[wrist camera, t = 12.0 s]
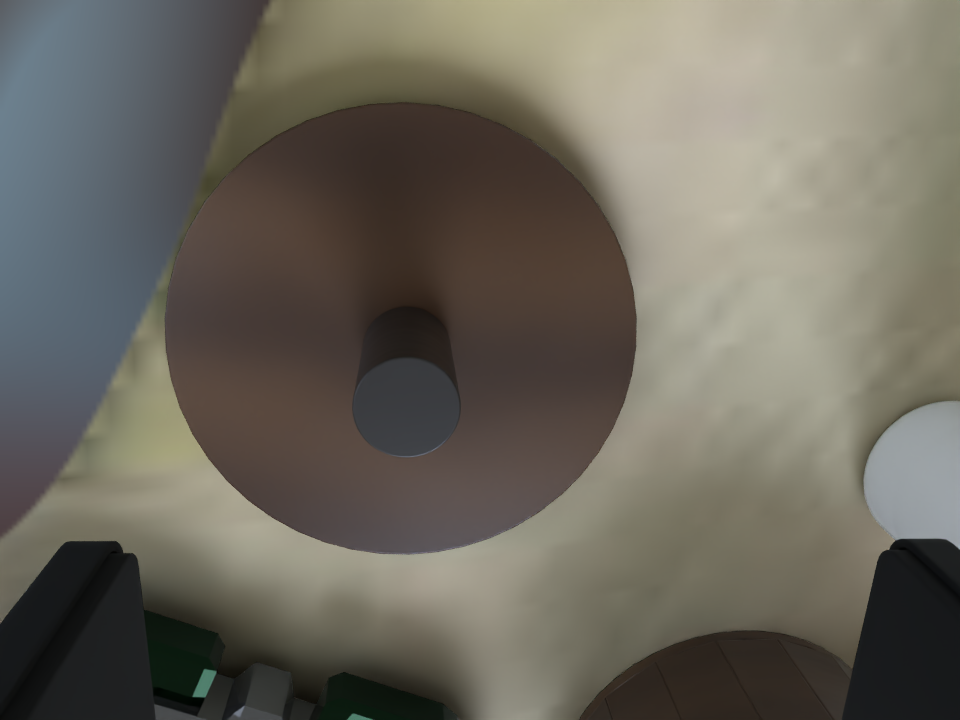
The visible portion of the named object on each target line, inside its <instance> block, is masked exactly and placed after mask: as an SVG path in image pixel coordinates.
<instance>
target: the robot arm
mask: <svg viewBox="0 0 960 720" xmlns="http://www.w3.org/2000/svg"><path fill="white" fill-rule="evenodd" d="M0 720H156V716H155V707H154V698H153V689H152V680H151V672H150V663H149V654H148V645H147V636H146V627H145V618H144V610H143V601H142V592H141V583H140V574H139V565H138V560H137V558H136V555H134V554H133V553H123V550H122V547H121V545H120V544H119V543H118V542H117V541H70V542H65V543H64V544H63V545H62V546H61V547H60V548H59V550H58V551H57V552H56V553H55V555H54V556H53V557H52V559H51V560H50V561H49V562H48V564H47V565H46V566H45V568H44V569H43V570H42V571H41V573H40V574H39V575H38V576H37V578H36V579H35V580H34V582H33V583H32V584H31V585H30V587H29V588H28V589H27V591H26V592H25V593H24V594H23V596H22V597H21V598H20V599H19V601H18V602H17V603H16V605H15V606H14V607H13V608H12V610H11V611H10V612H9V613H8V615H7V616H6V617H5V619H4V620H3V621H2V622H1V624H0ZM842 720H960V549H959V548H958V547H956V546H955V545H954V544H953V543H951V542H950V541H948V540H946V539H898V540H896V541H895V542H894V543H893V544H892V545H891V547H890V549H889V550H886V551H883V552H882V553H881V554H880V556H879V558H878V561H877V565H876V570H875V574H874V579H873V583H872V587H871V592H870V596H869V601H868V605H867V609H866V614H865V618H864V623H863V627H862V631H861V636H860V640H859V644H858V649H857V653H856V658H855V662H854V666H853V671H852V675H851V680H850V684H849V688H848V693H847V697H846V702H845V706H844V710H843V715H842Z"/></svg>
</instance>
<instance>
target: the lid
mask: <svg viewBox="0 0 960 720" xmlns="http://www.w3.org/2000/svg"><path fill="white" fill-rule="evenodd" d="M636 323H637V317H636V309H635V301H634V292H633V287H632V283H631V279H630V275H629V271H628V267H627V263H626V260H625V257H624V255H623V253H622V250H621V248H620V245H619V243H618V240H617V238H616V236H615V233H614V231H613V229H612V228H611V226H610V224H609V223H608V221H607V219H606V217H605V216H604V214H603V212H602V211H601V209H600V207H599V205H598V204H597V203H596V202H595V200H594V199H593V198H592V197H591V195H590V194H589V193H588V191H587V190H586V189H585V188H584V186H583V185H582V184H581V182H580V181H579V180H578V179H577V178H576V177H575V176H574V175H573V174H572V173H571V172H570V171H569V170H567V169H566V168H565V167H564V166H563V165H562V164H561V163H560V162H559V161H558V160H557V159H556V158H555V157H553V156H552V155H551V154H549V153H548V152H546V151H545V150H544V149H542V148H541V147H540V146H538V145H537V144H536V143H534V142H533V141H532V140H530V139H528V138H526V137H524V136H523V135H521V134H519V133H517V132H515V131H513V130H512V129H510V128H508V127H506V126H504V125H502V124H500V123H497V122H494V121H492V120H489V119H487V118H484V117H481V116H479V115H476V114H473V113H470V112H466V111H462V110H457V109H453V108H449V107H444V106H440V105H431V104H420V103H409V102H398V103H377V104H368V105H362V106H357V107H351V108H346V109H341V110H337V111H334V112H331V113H328V114H325V115H322V116H319V117H316V118H313V119H310V120H307V121H305V122H303V123H301V124H299V125H297V126H295V127H293V128H291V129H289V130H287V131H285V132H283V133H281V134H279V135H277V136H275V137H274V138H272V139H271V140H269V141H268V142H266V143H265V144H263V145H262V146H261V147H259V148H258V149H256V150H255V151H253V152H252V153H250V154H249V155H248V156H247V157H246V158H245V159H244V160H242V161H241V162H240V163H239V164H238V165H237V166H236V167H235V168H234V169H233V170H232V171H231V172H229V173H228V174H227V175H226V176H225V177H224V178H223V180H222V181H221V182H220V183H219V185H218V186H217V187H216V188H215V190H214V191H213V192H212V193H211V194H210V196H209V197H208V198H207V199H206V201H205V202H204V204H203V205H202V207H201V209H200V210H199V212H198V214H197V215H196V217H195V219H194V220H193V222H192V224H191V225H190V227H189V229H188V231H187V233H186V236H185V238H184V240H183V243H182V245H181V247H180V250H179V252H178V255H177V257H176V260H175V264H174V268H173V272H172V276H171V280H170V283H169V287H168V295H167V304H166V313H165V340H166V353H167V359H168V365H169V371H170V377H171V381H172V384H173V387H174V390H175V393H176V397H177V400H178V403H179V406H180V409H181V411H182V413H183V415H184V417H185V419H186V421H187V423H188V425H189V428H190V430H191V432H192V434H193V436H194V437H195V439H196V440H197V442H198V443H199V445H200V446H201V448H202V449H203V451H204V453H205V454H206V456H207V457H208V459H209V460H210V461H211V462H212V464H213V465H214V466H215V467H216V468H217V469H218V471H219V472H220V473H221V474H222V475H223V477H224V478H225V479H226V480H227V481H228V482H229V483H230V484H231V485H232V486H233V487H234V488H235V489H236V490H238V491H239V492H240V493H241V494H242V495H243V496H244V497H245V498H246V499H247V500H248V501H250V502H251V503H252V504H254V505H255V506H257V507H258V508H259V509H261V510H262V511H264V512H265V513H267V514H268V515H269V516H271V517H272V518H274V519H276V520H278V521H279V522H281V523H283V524H285V525H287V526H289V527H290V528H292V529H294V530H296V531H298V532H300V533H303V534H305V535H308V536H310V537H313V538H315V539H318V540H320V541H323V542H326V543H330V544H333V545H337V546H341V547H345V548H348V549H352V550H359V551H366V552H372V553H379V554H420V553H432V552H439V551H444V550H449V549H454V548H459V547H464V546H467V545H470V544H473V543H476V542H479V541H483V540H486V539H489V538H491V537H494V536H496V535H498V534H500V533H502V532H504V531H507V530H509V529H511V528H513V527H515V526H517V525H519V524H520V523H522V522H524V521H525V520H527V519H529V518H530V517H532V516H534V515H535V514H537V513H538V512H540V511H541V510H543V509H544V508H545V507H546V506H548V505H549V504H550V503H551V502H553V501H554V500H555V499H557V498H558V497H559V496H560V495H562V494H563V493H564V492H565V491H566V490H567V489H568V488H569V487H570V486H571V485H572V484H573V483H574V482H575V481H576V480H577V479H578V478H579V477H580V476H581V474H582V473H583V472H584V471H585V469H586V468H587V467H588V465H589V464H590V463H591V462H592V460H593V459H594V458H595V456H596V455H597V454H598V453H599V451H600V449H601V448H602V446H603V444H604V442H605V441H606V439H607V437H608V436H609V434H610V432H611V431H612V429H613V427H614V425H615V422H616V420H617V418H618V415H619V413H620V411H621V408H622V406H623V404H624V401H625V398H626V394H627V391H628V387H629V384H630V380H631V377H632V371H633V364H634V358H635V351H636Z"/></svg>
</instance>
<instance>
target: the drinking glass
mask: <svg viewBox="0 0 960 720" xmlns="http://www.w3.org/2000/svg"><path fill="white" fill-rule="evenodd" d="M863 487H864V495H865V499H866V503H867V506H868V508H869V510H870V512H871V514H872V516H873V517H874V519H875V520H876V521H877V523H878V524H879V525H880V526H881V527H882V528H883V529H884V530H885V531H886V532H887V533H888V534H889V535H890V536H891V537H892V538H893V539H895V540H898V539H946V540H948V541H950V542H951V543H953V544H954V545H955V546H956V547H958V548H959V549H960V401H941V402H935V403H931V404H927V405H924V406H921V407H919V408H917V409H914V410H912V411H910V412H909V413H907V414H905V415H904V416H902V417H900V418H899V419H898V420H897V421H895V422H894V423H893V424H892V425H891V426H890V427H888V429H887V430H886V431H885V432H884V433H883V434H882V435H881V437H880V438H879V439H878V441H877V442H876V444H875V445H874V447H873V449H872V451H871V453H870V455H869V457H868V460H867V463H866V467H865V471H864V481H863Z"/></svg>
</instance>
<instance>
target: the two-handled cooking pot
mask: <svg viewBox="0 0 960 720" xmlns="http://www.w3.org/2000/svg"><path fill="white" fill-rule="evenodd" d="M852 671H853V670H852V669H851V668H850V667H849V666H848V665H846V664H845V663H844V662H843V661H842V660H841V659H839V658H838V657H836V656H835V655H833V654H831V653H830V652H828V651H827V650H825V649H823V648H821V647H819V646H817V645H814V644H812V643H810V642H807V641H805V640H802V639H799V638H795V637H791V636H788V635H784V634H777V633H770V632H763V631H735V632H724V633H716V634H711V635H707V636H702V637H697V638H693V639H690V640H687V641H684V642H681V643H678V644H675V645H672V646H670V647H668V648H666V649H663V650H661V651H659V652H657V653H654V654H652V655H651V656H649V657H647V658H645V659H644V660H642V661H640V662H638V663H637V664H635V665H633V666H632V667H631V668H629V669H628V670H626V671H625V672H624V673H622V674H621V675H620V676H618V677H617V678H616V679H614V680H613V681H612V682H611V683H610V684H609V685H608V686H607V687H606V688H605V689H604V690H603V691H602V692H600V693H599V694H598V696H597V697H596V698H595V699H594V700H593V702H592V703H591V704H590V705H589V706H588V707H587V709H586V710H585V711H584V713H583V714H582V716H581V717H580V719H579V720H842V715H843V710H844V706H845V702H846V697H847V693H848V688H849V684H850V680H851V675H852Z"/></svg>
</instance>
